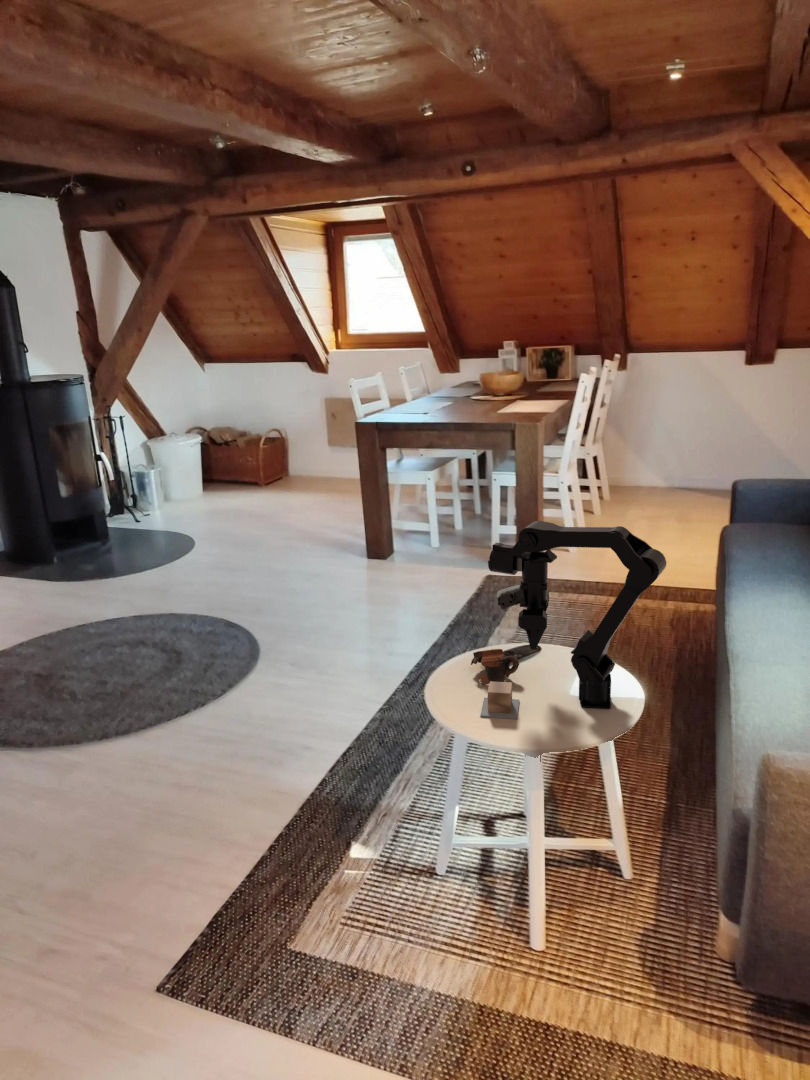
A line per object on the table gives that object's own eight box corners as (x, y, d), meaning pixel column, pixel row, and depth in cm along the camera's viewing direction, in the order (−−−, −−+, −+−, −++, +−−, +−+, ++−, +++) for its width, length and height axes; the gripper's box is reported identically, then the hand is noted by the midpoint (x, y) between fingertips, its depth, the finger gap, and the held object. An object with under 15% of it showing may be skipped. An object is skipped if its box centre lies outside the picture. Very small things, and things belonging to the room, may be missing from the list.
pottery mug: (468, 687, 185) (464, 652, 187) (481, 686, 194) (477, 653, 196) (517, 680, 181) (512, 645, 183) (527, 680, 189) (522, 647, 191)
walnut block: (512, 702, 176) (512, 682, 174) (510, 713, 171) (510, 693, 169) (490, 700, 177) (489, 681, 175) (487, 712, 172) (487, 692, 170)
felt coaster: (519, 701, 177) (519, 699, 177) (516, 719, 169) (516, 717, 169) (484, 698, 178) (484, 697, 178) (480, 716, 171) (480, 715, 171)
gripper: (502, 562, 185) (502, 623, 189) (494, 591, 167) (495, 656, 172) (549, 564, 182) (548, 624, 187) (547, 593, 165) (546, 659, 170)
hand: (534, 640), depth 179 cm, fingers open, 9 cm apart
